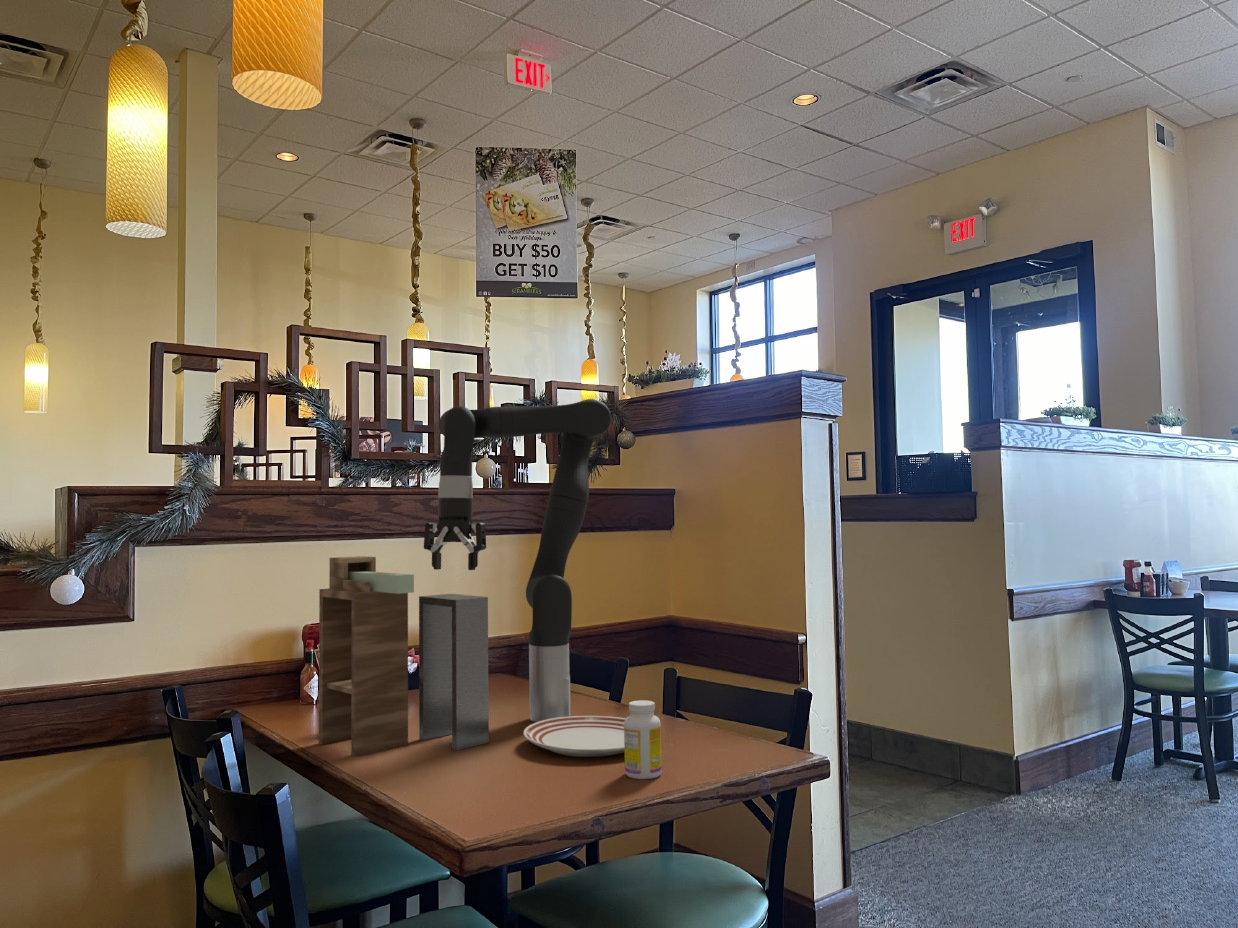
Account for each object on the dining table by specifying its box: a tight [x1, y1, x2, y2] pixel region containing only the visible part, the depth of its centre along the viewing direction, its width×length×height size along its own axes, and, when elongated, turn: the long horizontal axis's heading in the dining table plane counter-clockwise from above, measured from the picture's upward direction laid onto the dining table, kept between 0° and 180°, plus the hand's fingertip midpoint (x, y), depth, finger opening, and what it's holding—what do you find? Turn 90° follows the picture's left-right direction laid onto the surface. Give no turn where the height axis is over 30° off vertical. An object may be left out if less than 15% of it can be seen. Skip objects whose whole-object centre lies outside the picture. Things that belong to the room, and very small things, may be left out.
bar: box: [348, 571, 415, 594], centre depth 185 cm, size 22×4×4 cm, turn 45°
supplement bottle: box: [624, 699, 663, 780], centre depth 163 cm, size 7×7×13 cm
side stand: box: [418, 593, 490, 751], centre depth 189 cm, size 14×8×30 cm, turn 45°
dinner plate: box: [522, 715, 627, 758], centre depth 184 cm, size 28×27×3 cm
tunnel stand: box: [318, 555, 409, 757], centre depth 188 cm, size 15×12×38 cm
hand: (454, 569), depth 200 cm, fingers open, 8 cm apart
